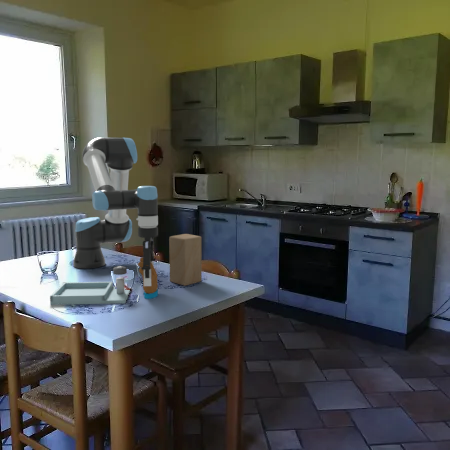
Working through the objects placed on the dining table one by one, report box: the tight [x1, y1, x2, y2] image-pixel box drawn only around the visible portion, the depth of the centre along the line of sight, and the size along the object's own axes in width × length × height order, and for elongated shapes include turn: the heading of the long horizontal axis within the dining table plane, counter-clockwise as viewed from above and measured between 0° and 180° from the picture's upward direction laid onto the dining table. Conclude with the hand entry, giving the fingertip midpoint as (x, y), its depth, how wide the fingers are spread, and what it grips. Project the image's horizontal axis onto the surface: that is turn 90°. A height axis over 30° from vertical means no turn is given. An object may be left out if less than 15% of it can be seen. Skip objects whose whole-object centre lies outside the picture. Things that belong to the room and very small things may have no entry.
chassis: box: [49, 277, 131, 306], centre depth 175 cm, size 18×27×7 cm, turn 94°
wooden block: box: [168, 233, 203, 286], centre depth 195 cm, size 10×10×20 cm
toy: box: [137, 256, 159, 300], centre depth 177 cm, size 12×7×15 cm, turn 168°
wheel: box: [112, 265, 127, 276], centre depth 175 cm, size 5×5×2 cm
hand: (149, 281), depth 177 cm, fingers closed on toy, 11 cm apart
